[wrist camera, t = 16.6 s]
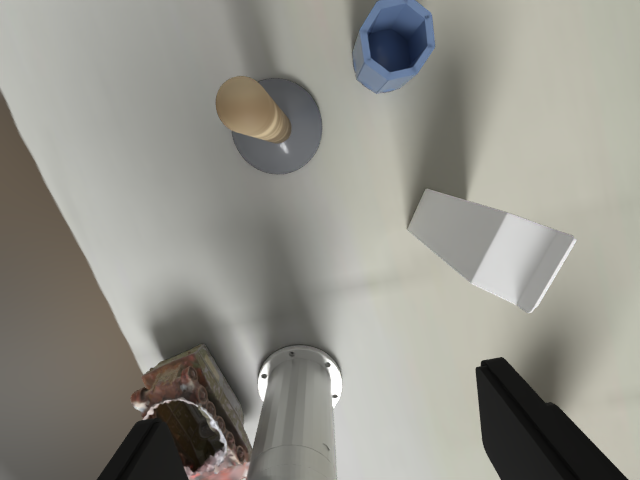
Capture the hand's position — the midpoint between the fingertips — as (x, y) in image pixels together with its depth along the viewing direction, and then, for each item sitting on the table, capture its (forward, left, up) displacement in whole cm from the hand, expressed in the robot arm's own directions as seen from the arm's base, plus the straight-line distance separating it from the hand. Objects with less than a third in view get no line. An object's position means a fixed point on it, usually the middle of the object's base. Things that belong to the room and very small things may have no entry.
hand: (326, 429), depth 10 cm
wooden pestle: (+12, +3, -34) cm, 36 cm away
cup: (+17, -11, -34) cm, 40 cm away
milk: (-3, -15, -34) cm, 38 cm away
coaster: (+12, +3, -34) cm, 36 cm away
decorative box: (-24, +20, -35) cm, 47 cm away
